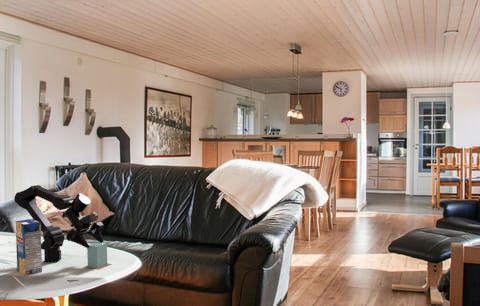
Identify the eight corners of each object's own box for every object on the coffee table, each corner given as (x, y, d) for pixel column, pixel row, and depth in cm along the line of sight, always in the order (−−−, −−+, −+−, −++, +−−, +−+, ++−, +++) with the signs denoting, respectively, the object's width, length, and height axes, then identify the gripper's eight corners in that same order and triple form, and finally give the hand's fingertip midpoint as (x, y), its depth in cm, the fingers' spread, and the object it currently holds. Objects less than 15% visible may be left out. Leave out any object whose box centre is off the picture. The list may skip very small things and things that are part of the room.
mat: (61, 277, 202) (61, 276, 202) (85, 272, 208) (85, 271, 208) (69, 283, 194) (69, 282, 194) (93, 278, 200) (93, 277, 200)
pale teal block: (87, 266, 214) (87, 245, 214) (97, 263, 220) (97, 242, 220) (97, 268, 212) (97, 246, 212) (107, 264, 218) (106, 243, 217)
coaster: (82, 268, 214) (82, 267, 214) (96, 263, 222) (96, 262, 222) (98, 270, 210) (98, 269, 210) (112, 265, 218) (112, 264, 218)
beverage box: (25, 276, 204) (23, 224, 203) (17, 270, 212) (15, 220, 211) (42, 272, 208) (40, 222, 207) (33, 267, 216) (31, 218, 215)
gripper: (70, 210, 209) (91, 238, 205) (100, 204, 226) (119, 229, 222) (57, 227, 212) (77, 254, 208) (87, 219, 229) (106, 244, 225)
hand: (95, 245), depth 216 cm, fingers open, 9 cm apart
